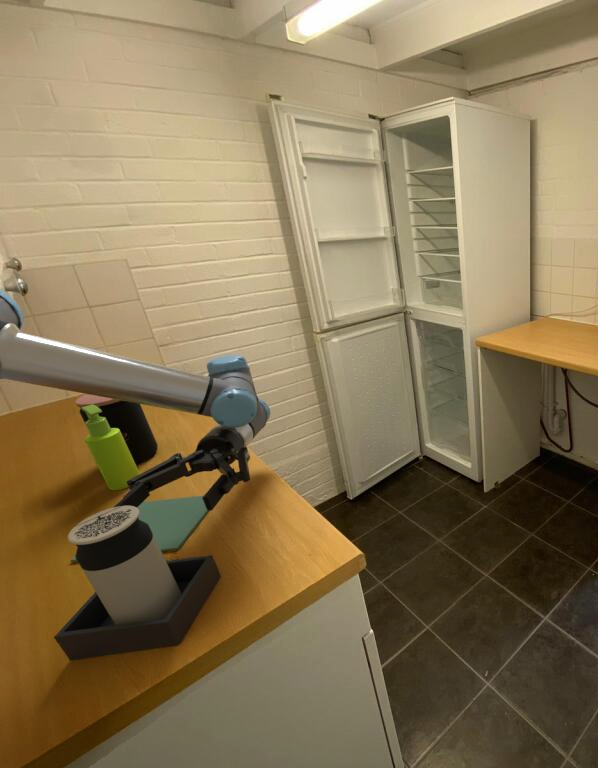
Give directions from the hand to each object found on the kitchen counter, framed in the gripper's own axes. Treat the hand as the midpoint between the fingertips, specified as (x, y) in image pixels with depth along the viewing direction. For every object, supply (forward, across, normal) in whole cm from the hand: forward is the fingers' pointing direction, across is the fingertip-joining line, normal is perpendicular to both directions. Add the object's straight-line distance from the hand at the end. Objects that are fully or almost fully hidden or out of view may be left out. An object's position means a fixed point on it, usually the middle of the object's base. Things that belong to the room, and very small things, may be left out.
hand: (163, 509), depth 69 cm
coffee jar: (-41, +35, -13) cm, 56 cm away
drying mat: (-12, +13, -13) cm, 22 cm away
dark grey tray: (+10, 0, -13) cm, 16 cm away
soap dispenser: (-29, +29, -13) cm, 43 cm away
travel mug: (+10, 0, -12) cm, 16 cm away
